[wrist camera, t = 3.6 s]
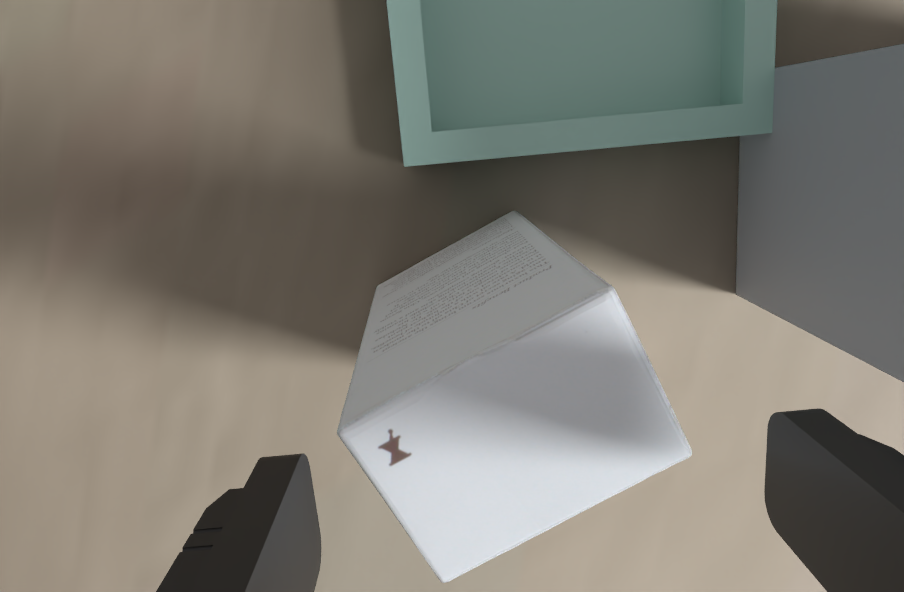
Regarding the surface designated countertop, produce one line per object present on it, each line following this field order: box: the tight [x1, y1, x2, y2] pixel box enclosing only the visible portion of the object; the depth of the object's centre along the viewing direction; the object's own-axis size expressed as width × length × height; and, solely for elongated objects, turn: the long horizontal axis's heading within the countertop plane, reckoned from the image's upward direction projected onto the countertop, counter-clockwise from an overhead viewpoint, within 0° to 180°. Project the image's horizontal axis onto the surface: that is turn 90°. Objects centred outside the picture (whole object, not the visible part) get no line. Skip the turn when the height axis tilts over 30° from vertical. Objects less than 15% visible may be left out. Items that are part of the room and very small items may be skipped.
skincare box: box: [337, 211, 692, 583], centre depth 18 cm, size 6×4×12 cm
